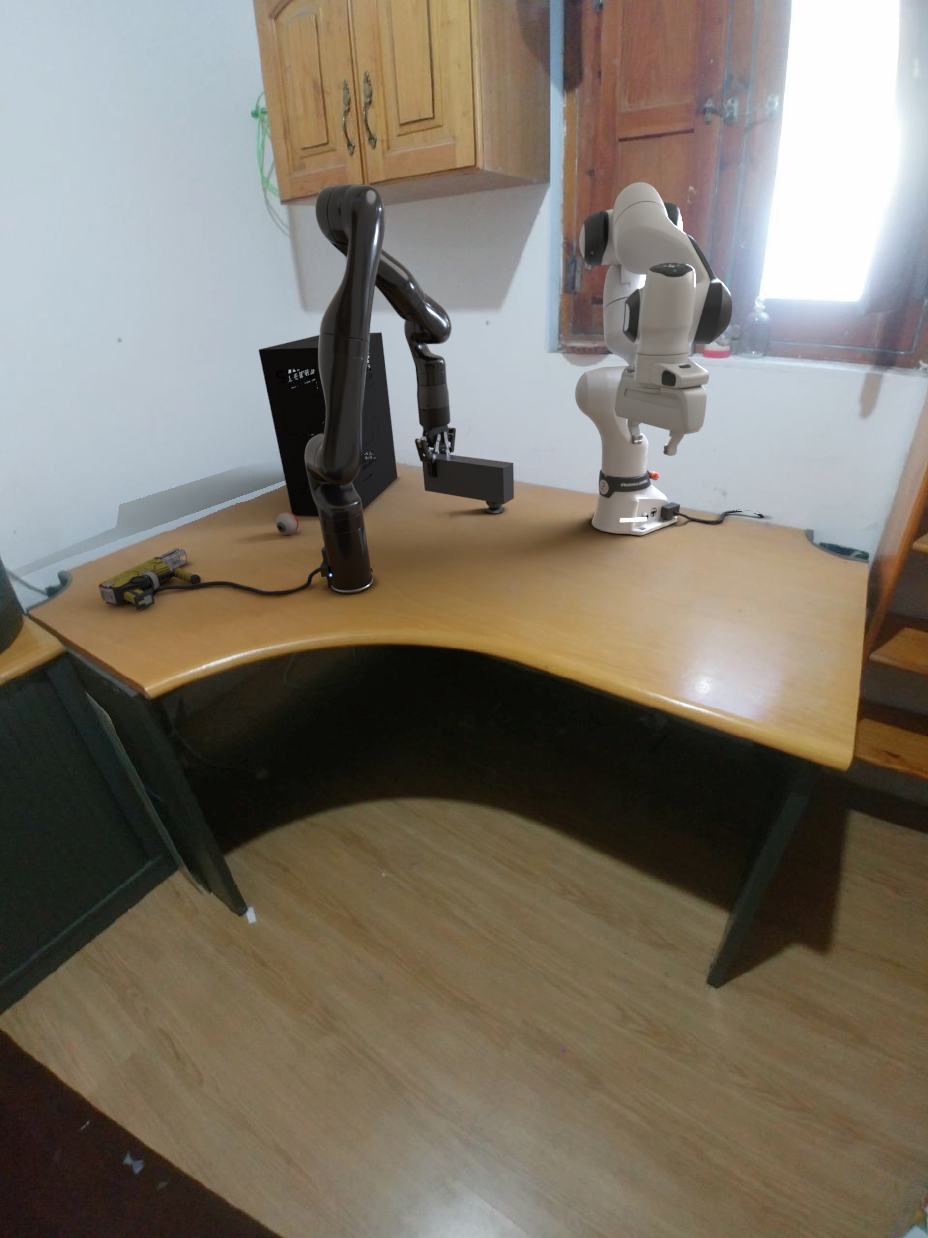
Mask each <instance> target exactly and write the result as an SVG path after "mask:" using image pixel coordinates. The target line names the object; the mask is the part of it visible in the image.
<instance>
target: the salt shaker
mask: <svg viewBox="0 0 928 1238" xmlns="http://www.w3.org/2000/svg"><path fill="white" fill-rule="evenodd" d="M485 504H486V505H487V506H488V507H487V508H486V509H485V512H487V513H489V514H499V513H500V514H501V513H503V512H505V508H504V507H503V505H504V504H500V503H494V502H488V501H485Z"/></svg>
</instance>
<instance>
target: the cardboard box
mask: <svg viewBox="0 0 928 1238" xmlns="http://www.w3.org/2000/svg"><path fill="white" fill-rule="evenodd" d="M318 348H319V334H318V335H313V336H309V337H305V338H301V339H296V340H292V341H288V342H285V343H280V344H276V345H272V346H268V347H264V348H260V349H258V355H259V359H260V364H261V368H262V369H261V370H262V373H263V378H264V383H265V388H266V392H267V397H268V398H267V399H268V404H269V408H270V413H271V417H272V422H273V423H272V424H273V427H274V432H275V433H274V434H275V437H276V442H277V447H278V452H279V457H280V461H281V467H282V472H283V477H284V481H285V482H284V483H285V486H286V487H285V488H286V491H287V495H288V501H289V506H290V511H291V513H292V514H294V515H295V516H318V517H319V513H318V509H317V506H316V504H315V502H314V500H313V497H312V493H311V489H310V484H309V480H308V475H307V470H306V465H305V449H306V446H307V444H308V442H309V441H310V439H311V438H312V437H314V436H315V435H317V434H320V433H324V431H325V421H326V404H325V397H324V392H323V388H322V383H321V378H320V373H319V366H318ZM367 360H368V362H367V368H366V377H365V388H364V399H363V408H362V460H361V467H360V470H359V473H358V475H357V476H356V478H355V479H354V480H353V481H352V484H353V486H354V488H355V490H356V492H357V493H358V495H359V496H360V498H361V502H362V509H363V511H364V510H365V509H367V507H368V506H369V505H370V504H371V503H372V502H373V501H374V500H375V499H377V497H379V496H380V495H381V494H382V493H383V492H384V491H385V490H386V489H387V488H389V486H390V485H392V483H394V481H396V480H397V479H398V471H397V470H398V469H397V460H396V453H395V452H396V451H395V441H394V433H393V432H394V431H393V424H392V415H391V405H390V396H389V386H388V378H387V377H388V376H387V369H386V368H387V367H386V360H385V349H384V341H383V332H370V340H369V351H368V359H367Z"/></svg>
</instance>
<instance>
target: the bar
mask: <svg viewBox="0 0 928 1238" xmlns="http://www.w3.org/2000/svg"><path fill="white" fill-rule="evenodd" d="M431 456H432V453H430V458H431ZM424 457H425V455H424ZM421 463H422V475H423V486H424V491H426V492H431V493H435V494H436V493H437V494H443V495H449V496H454V497H458V498H459V497H460V498H465V499H472V500H476V501H483V502H486V501H488V502H494V503H500V504H503V505H505V504H507V503H509V502H511V501H513V500H514V499H515V483H514V482H515V481H514V480H515V478H514V475H515V474H514V462H510V461H503V460H495V459H486V458H480V457H470V456H462V455H456V454H450V455H449V454H441V453H439V452H438V453H437V454H436V461H435V463H436V471H437V477H435V478H431V477H429V476H428V471H427V463H426V462H422V461H421Z"/></svg>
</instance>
